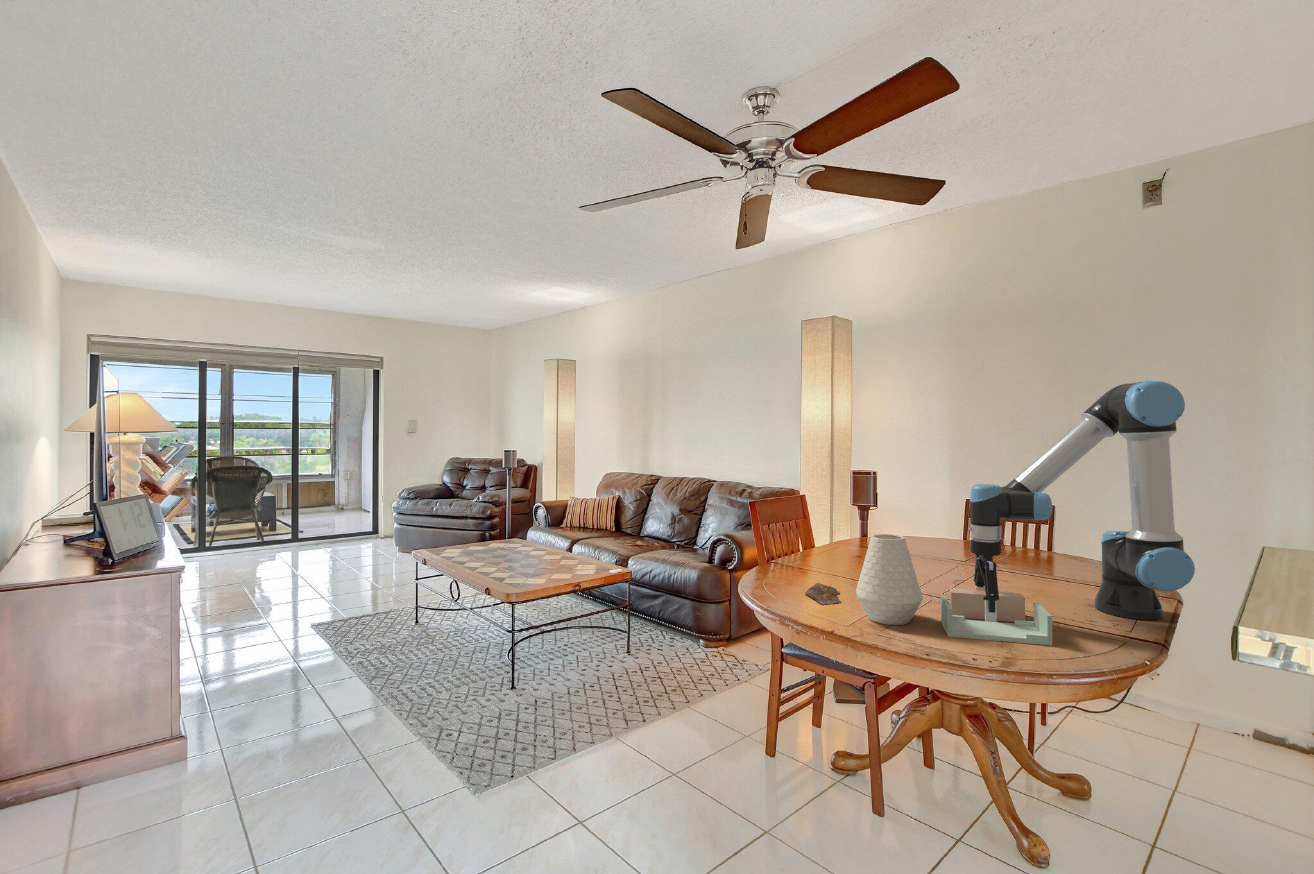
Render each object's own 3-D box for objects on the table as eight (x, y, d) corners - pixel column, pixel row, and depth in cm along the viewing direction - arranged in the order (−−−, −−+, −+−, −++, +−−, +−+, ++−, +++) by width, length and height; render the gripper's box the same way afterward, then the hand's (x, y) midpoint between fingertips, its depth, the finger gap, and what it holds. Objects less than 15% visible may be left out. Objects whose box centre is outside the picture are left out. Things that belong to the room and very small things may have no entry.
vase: (876, 631, 155) (875, 544, 154) (844, 611, 172) (844, 532, 172) (936, 626, 157) (935, 541, 157) (899, 607, 175) (899, 530, 174)
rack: (1038, 630, 154) (1038, 602, 154) (1052, 645, 143) (1052, 616, 143) (941, 622, 161) (941, 596, 161) (947, 636, 150) (947, 608, 150)
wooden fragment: (842, 607, 177) (841, 603, 177) (804, 604, 179) (804, 601, 179) (837, 585, 201) (837, 582, 201) (804, 583, 204) (804, 580, 204)
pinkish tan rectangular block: (1021, 618, 164) (1021, 593, 164) (1025, 623, 160) (1025, 597, 160) (949, 612, 170) (949, 588, 170) (951, 617, 166) (951, 592, 166)
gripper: (962, 531, 177) (963, 602, 178) (979, 547, 154) (979, 629, 155) (990, 532, 175) (991, 604, 175) (1012, 549, 152) (1012, 631, 152)
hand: (985, 616), depth 165 cm, fingers open, 12 cm apart
